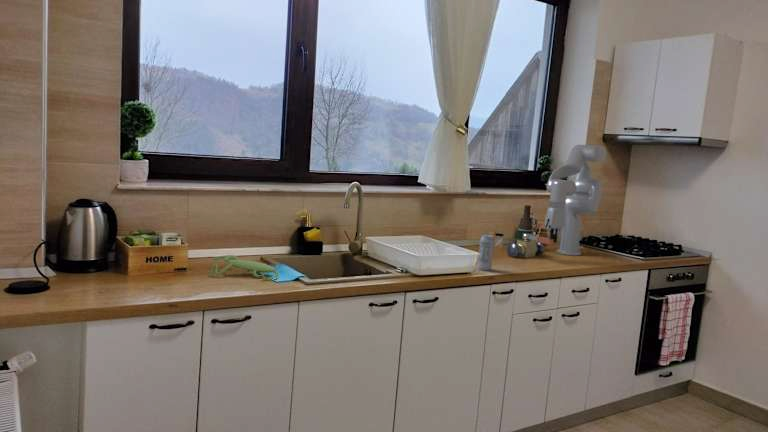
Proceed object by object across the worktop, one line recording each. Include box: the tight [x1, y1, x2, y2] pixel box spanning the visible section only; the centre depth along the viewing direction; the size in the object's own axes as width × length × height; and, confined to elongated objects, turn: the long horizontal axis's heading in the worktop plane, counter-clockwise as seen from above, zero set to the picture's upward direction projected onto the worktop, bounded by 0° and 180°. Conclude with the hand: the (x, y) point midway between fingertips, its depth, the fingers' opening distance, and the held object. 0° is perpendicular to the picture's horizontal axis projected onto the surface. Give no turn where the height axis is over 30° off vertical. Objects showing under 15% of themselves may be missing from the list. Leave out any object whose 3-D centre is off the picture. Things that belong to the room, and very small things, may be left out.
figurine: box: [210, 254, 280, 281], centre depth 223 cm, size 18×27×6 cm
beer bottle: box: [515, 204, 534, 244], centre depth 321 cm, size 8×8×24 cm
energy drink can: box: [477, 234, 495, 272], centre depth 262 cm, size 6×6×15 cm
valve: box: [506, 239, 545, 259], centre depth 302 cm, size 20×7×9 cm, turn 125°
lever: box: [523, 233, 554, 245], centre depth 295 cm, size 4×18×2 cm, turn 35°
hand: (553, 242), depth 296 cm, fingers closed
